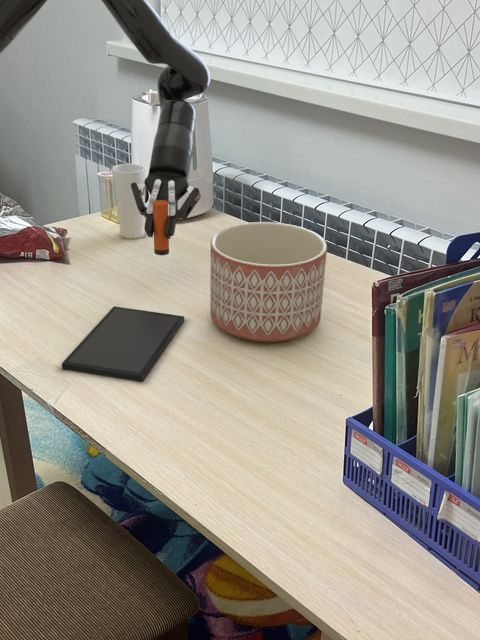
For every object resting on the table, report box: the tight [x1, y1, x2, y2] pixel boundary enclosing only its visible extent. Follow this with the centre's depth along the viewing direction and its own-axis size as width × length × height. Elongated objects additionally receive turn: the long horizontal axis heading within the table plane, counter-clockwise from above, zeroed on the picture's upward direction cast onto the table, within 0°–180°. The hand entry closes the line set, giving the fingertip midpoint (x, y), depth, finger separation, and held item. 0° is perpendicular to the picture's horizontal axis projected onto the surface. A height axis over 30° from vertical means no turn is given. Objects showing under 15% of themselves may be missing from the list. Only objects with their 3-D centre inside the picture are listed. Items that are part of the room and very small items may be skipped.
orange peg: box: [153, 200, 170, 256], centre depth 130 cm, size 3×3×10 cm
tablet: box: [61, 305, 185, 383], centre depth 113 cm, size 13×20×1 cm, turn 168°
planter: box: [209, 221, 328, 344], centre depth 118 cm, size 19×19×15 cm
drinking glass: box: [112, 163, 147, 239], centre depth 150 cm, size 7×7×15 cm
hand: (158, 235), depth 129 cm, fingers closed on orange peg, 2 cm apart
